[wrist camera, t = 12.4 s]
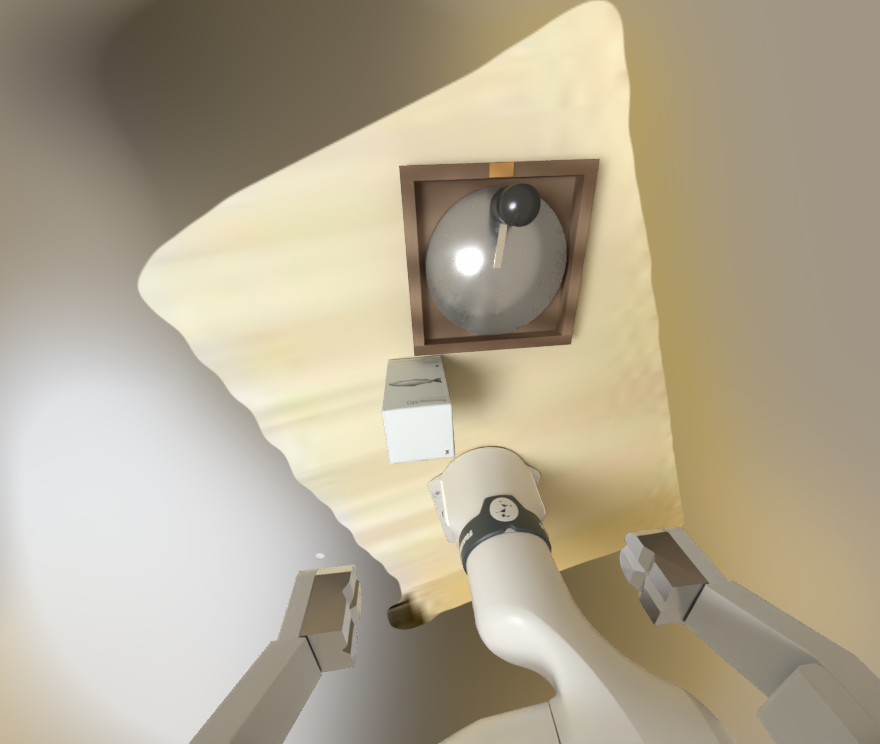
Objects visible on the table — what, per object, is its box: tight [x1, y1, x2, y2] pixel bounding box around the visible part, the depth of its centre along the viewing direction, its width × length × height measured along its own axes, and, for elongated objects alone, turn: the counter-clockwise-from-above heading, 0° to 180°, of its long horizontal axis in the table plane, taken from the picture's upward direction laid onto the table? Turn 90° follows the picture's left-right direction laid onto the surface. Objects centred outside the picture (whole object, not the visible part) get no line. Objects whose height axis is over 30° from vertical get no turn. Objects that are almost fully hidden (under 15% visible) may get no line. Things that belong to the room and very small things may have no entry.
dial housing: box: [399, 159, 599, 356], centre depth 38 cm, size 20×20×3 cm
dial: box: [425, 183, 567, 335], centre depth 35 cm, size 16×16×7 cm
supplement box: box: [382, 355, 455, 464], centre depth 40 cm, size 7×7×13 cm
